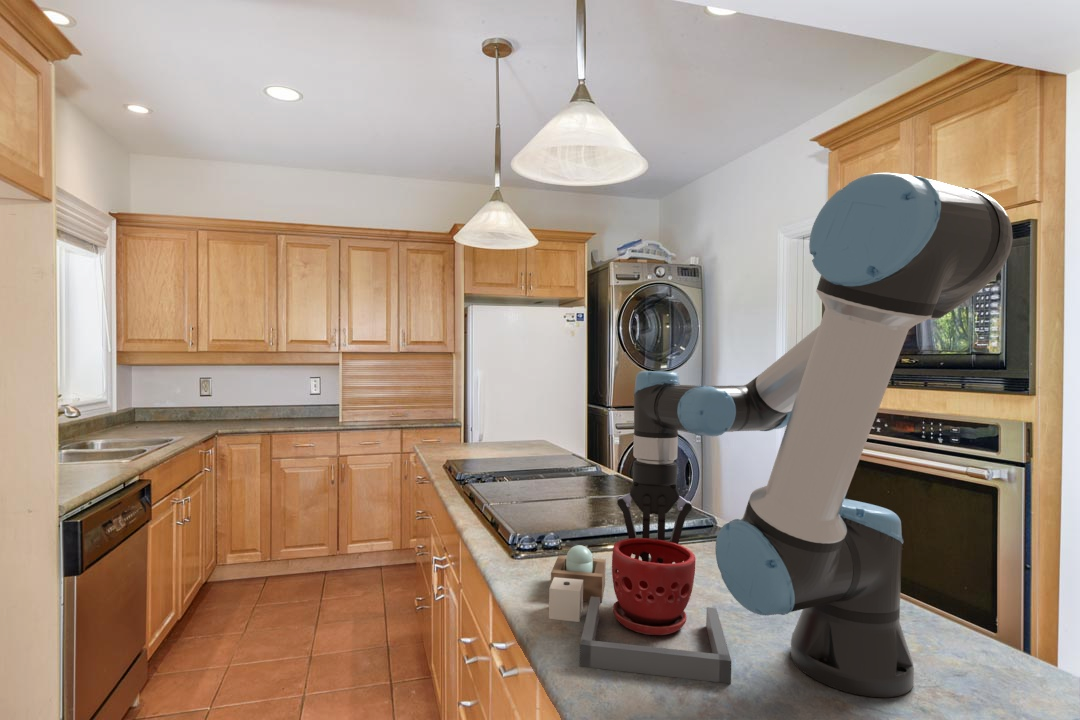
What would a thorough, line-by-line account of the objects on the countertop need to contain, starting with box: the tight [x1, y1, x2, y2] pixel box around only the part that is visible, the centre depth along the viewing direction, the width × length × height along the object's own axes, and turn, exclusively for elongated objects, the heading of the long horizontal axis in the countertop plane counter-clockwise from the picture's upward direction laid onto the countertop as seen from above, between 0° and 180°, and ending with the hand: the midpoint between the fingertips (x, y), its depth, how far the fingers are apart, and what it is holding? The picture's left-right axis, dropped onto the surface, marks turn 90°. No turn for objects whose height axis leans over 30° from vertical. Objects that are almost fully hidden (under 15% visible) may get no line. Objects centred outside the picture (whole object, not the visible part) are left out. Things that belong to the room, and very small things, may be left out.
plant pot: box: [611, 537, 696, 636], centre depth 94 cm, size 13×13×12 cm
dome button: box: [566, 544, 593, 573], centre depth 106 cm, size 5×5×7 cm
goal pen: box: [578, 596, 732, 685], centre depth 86 cm, size 20×16×3 cm
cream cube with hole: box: [548, 577, 584, 623], centre depth 97 cm, size 5×5×5 cm
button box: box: [550, 555, 607, 604], centre depth 106 cm, size 9×9×4 cm
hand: (652, 595), depth 101 cm, fingers closed
